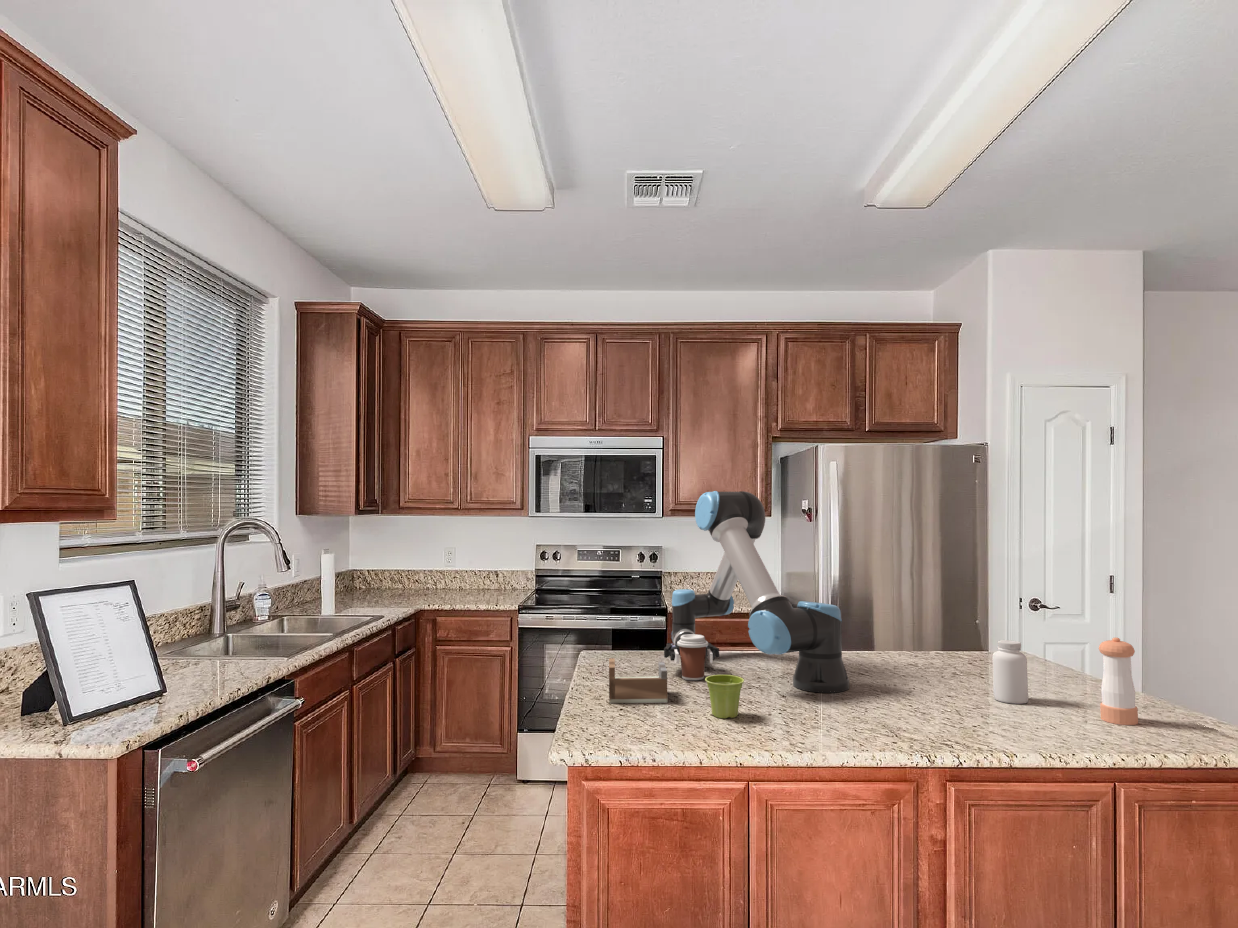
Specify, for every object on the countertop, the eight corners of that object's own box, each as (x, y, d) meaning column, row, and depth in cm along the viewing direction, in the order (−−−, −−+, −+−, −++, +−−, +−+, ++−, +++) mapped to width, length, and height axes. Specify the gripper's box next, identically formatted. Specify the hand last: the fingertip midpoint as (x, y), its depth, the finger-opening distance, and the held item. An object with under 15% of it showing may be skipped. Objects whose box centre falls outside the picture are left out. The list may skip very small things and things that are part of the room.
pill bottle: (1027, 698, 195) (1025, 639, 196) (1029, 706, 188) (1027, 645, 189) (993, 695, 199) (991, 637, 199) (994, 702, 191) (992, 643, 192)
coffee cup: (708, 674, 224) (707, 633, 224) (709, 681, 215) (708, 639, 215) (677, 673, 225) (677, 633, 225) (677, 681, 216) (676, 638, 216)
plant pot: (750, 713, 184) (749, 677, 184) (735, 723, 176) (735, 685, 176) (714, 707, 189) (714, 672, 189) (699, 717, 180) (698, 680, 181)
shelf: (609, 680, 218) (609, 648, 218) (661, 679, 218) (660, 648, 219) (609, 703, 194) (609, 667, 194) (667, 702, 194) (667, 667, 194)
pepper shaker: (1139, 726, 170) (1135, 641, 171) (1100, 722, 174) (1097, 638, 175) (1137, 718, 177) (1134, 636, 177) (1100, 714, 180) (1097, 633, 181)
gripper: (721, 654, 238) (732, 671, 216) (652, 655, 238) (656, 671, 215) (720, 631, 238) (732, 644, 216) (652, 631, 238) (656, 645, 216)
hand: (694, 658), depth 216 cm, fingers closed on coffee cup, 9 cm apart
